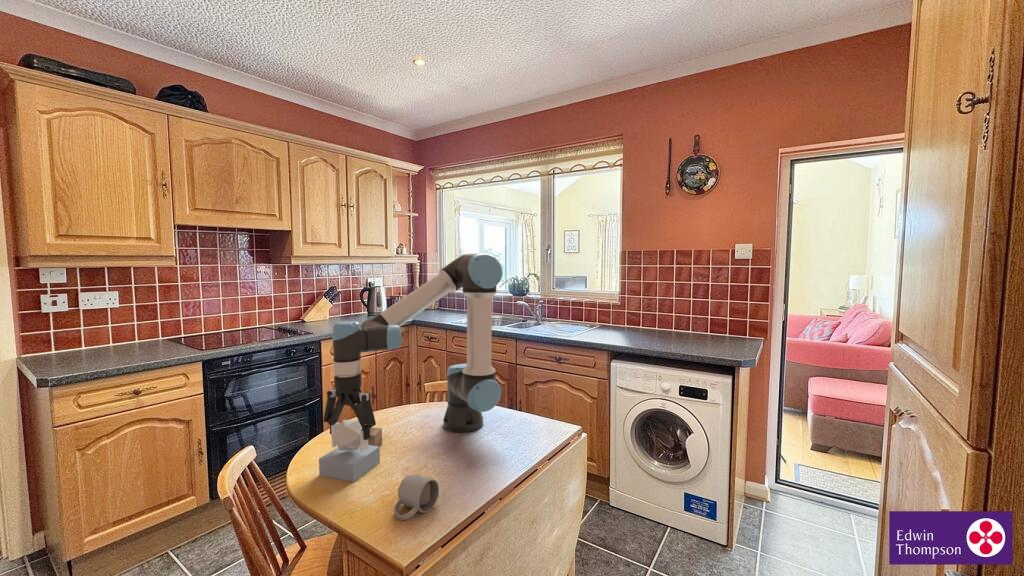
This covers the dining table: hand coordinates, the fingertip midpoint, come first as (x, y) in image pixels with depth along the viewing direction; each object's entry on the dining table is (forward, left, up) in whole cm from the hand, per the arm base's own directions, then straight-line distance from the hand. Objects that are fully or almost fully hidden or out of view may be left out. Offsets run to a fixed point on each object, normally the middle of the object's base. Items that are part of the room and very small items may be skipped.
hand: (350, 447), depth 123 cm
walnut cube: (+3, -13, -7) cm, 15 cm away
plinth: (0, 0, -7) cm, 7 cm away
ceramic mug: (-29, +12, -7) cm, 32 cm away
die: (0, 0, 0) cm, 0 cm away
